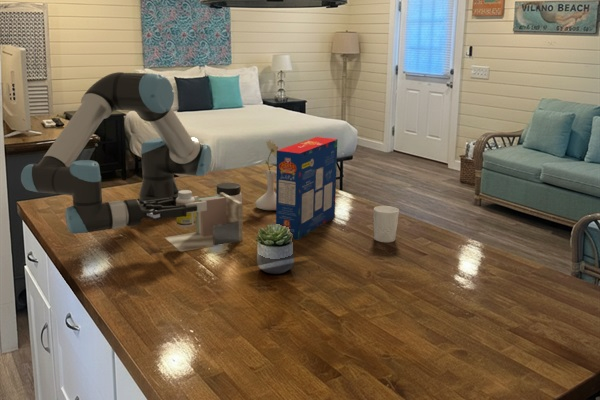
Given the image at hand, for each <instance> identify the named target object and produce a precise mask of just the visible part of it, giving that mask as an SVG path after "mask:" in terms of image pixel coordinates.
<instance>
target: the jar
mask: <svg viewBox="0 0 600 400" xmlns="http://www.w3.org/2000/svg"><path fill="white" fill-rule="evenodd" d="M221 192H223V193H225V194H227V195H229V196H230V197H232V198H234V199H236V200H238V201H239V202H241V203H242V204H243V201H242V200H243V197H242V196H243V194H242V192H241V184H239V183H235V182H223V183H219V184H217V185H216V193H215V196H220V193H221Z"/></svg>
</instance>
